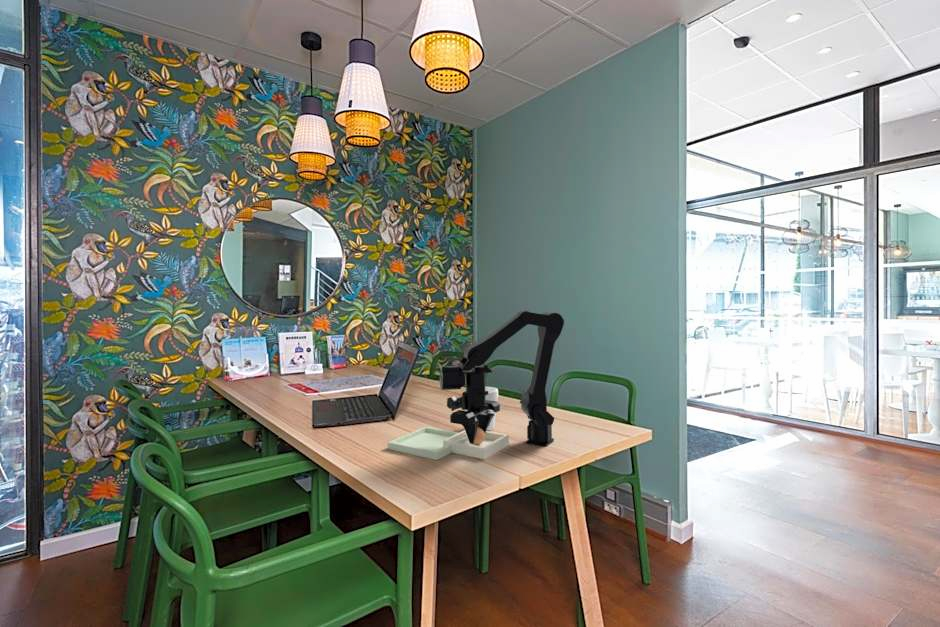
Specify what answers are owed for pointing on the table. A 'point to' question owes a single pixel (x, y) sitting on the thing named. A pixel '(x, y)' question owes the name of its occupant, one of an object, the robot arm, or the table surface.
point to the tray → (425, 443)
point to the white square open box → (483, 450)
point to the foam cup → (492, 397)
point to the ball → (479, 436)
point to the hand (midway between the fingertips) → (476, 440)
